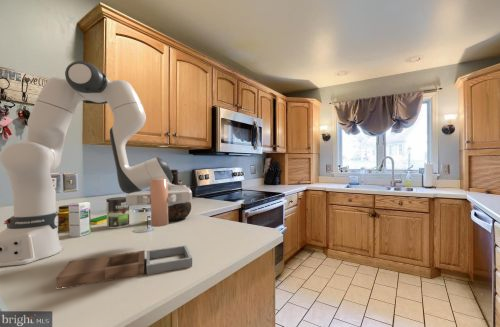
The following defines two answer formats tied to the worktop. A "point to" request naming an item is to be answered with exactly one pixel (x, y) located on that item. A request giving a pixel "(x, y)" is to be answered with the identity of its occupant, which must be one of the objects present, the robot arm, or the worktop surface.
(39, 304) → the worktop surface
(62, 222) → the condiment
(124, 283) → the worktop surface
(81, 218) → the syrup box
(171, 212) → the dark brown vase
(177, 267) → the grey square frame
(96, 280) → the partly covered box
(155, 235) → the worktop surface
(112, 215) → the coffee can
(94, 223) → the dish sponge
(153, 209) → the peach cylinder
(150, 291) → the worktop surface
